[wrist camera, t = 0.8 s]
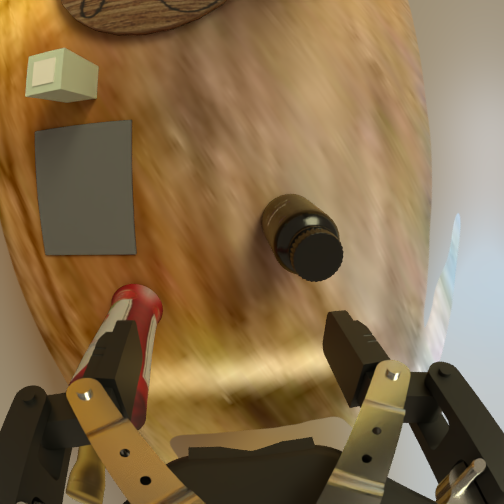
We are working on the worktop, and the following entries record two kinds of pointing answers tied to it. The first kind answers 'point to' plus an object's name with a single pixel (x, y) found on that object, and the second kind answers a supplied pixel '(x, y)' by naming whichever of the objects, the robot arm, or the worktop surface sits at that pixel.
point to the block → (61, 77)
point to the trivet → (138, 14)
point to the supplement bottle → (302, 237)
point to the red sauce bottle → (147, 317)
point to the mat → (86, 189)
